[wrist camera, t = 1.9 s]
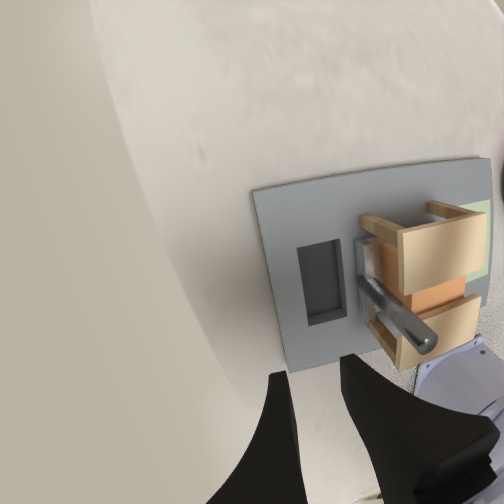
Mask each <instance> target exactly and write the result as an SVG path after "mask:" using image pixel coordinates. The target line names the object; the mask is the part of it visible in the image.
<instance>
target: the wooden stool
mask: <svg viewBox="0 0 504 504" xmlns="http://www.w3.org/2000/svg"><path fill="white" fill-rule="evenodd" d="M426 211H427V213H430V214H433V215H436V216H439V217H442V218H445V219H446V220H441V221H437V222H433V223H429V224H424V225H420V226H416V227H411V228H404V227H402V226H400V225H397V224H395V223H393V222H390V221H388V220H385V219H383V218H381V217H378V216H376V215H373V214H371V213H366V214H361V215H358V216H359V225H360V227H361V228H363V229H365V230H367V231H369V232H371V233H372V234H374V235H376V236H378V237H380V238H381V239H383V240H385V241H387V242H389V243H390V244H392V245H394V246H396V247H397V248H398V263H399V292H400V293H401V294H402V295H403V296H406V295H409V294H413V293H416V292H419V291H422V290H425V289H428V288H430V287H433V286H436V285H439V284H442V283H445V282H447V281H450V280H453V279H456V278H458V277H461V276H464V275H466V274H469V273H472V272H474V271H477V270H479V269H482V268H484V267H485V259H486V241H487V213H485V212H481V211H479V212H476V211H472V210H469V209H465V208H462V207H458V206H454V205H450V204H447V203H443V202H439V201H435V200H433V201H427V202H426ZM481 297H482V296H481V295H479V294H478V293H474V294H471V295H469V296H467V297H464V298H462V299H460V300H457V301H455V302H452V303H450V304H447V305H445V306H442V307H440V308H437V309H435V310H432V311H429V312H427V313H424V314H421V315H418V317H419V318H420V319H421V320H422V321H423V322H424V323H425V324H427V325H428V326H429V327H430V328H431V329H432V330H433V331H434V332H435V333H436V334H437V335H438V342H437V345H436V346H435V348H434V349H433V350H432V351H431V352H430V353H428V354H426V355H420V354H419V353H418V352H417V351H416V350H415V348H414V347H413V346H412V345H411V344H410V343H409V342H408V340H407V339H406V338H405V337H404V336H403V335H402V334H401V332H400V331H399V330H398V336H397V339H396V338H395V337H394V336H393V334H392V333H391V332H390V331H389V330H388V328H387V327H386V326H385V325H384V324H383V322H382V321H381V320H380V319H379V318H378V317H377V315H376V314H375V321H373V322H369V323H367V321H366V326H367V327H368V329H369V330H370V331H371V333H372V334H373V335H374V337H375V338H376V339H377V341H378V342H379V344H380V345H381V346H382V348H383V349H384V350H385V352H386V353H387V354H388V356H389V357H390V359H391V360H392V361H393V363H394V364H395V367H396V368H397V370H398V371H399V372H400V371H403V370H405V369H408V368H410V367H413V366H415V365H418V364H420V363H423V362H425V361H427V360H430V359H432V358H434V357H437V356H439V355H441V354H443V353H445V352H448V351H450V350H452V349H454V348H456V347H458V346H460V345H462V344H464V343H466V342H468V341H470V340H472V339H474V336H475V331H476V326H477V321H478V316H479V310H480V303H481Z"/></svg>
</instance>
